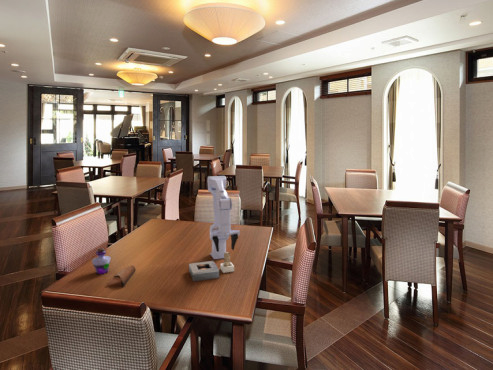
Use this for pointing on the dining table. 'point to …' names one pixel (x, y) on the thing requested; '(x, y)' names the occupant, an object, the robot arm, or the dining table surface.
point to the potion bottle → (101, 261)
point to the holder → (227, 268)
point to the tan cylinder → (226, 259)
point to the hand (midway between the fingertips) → (225, 250)
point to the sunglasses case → (121, 277)
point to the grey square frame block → (203, 271)
